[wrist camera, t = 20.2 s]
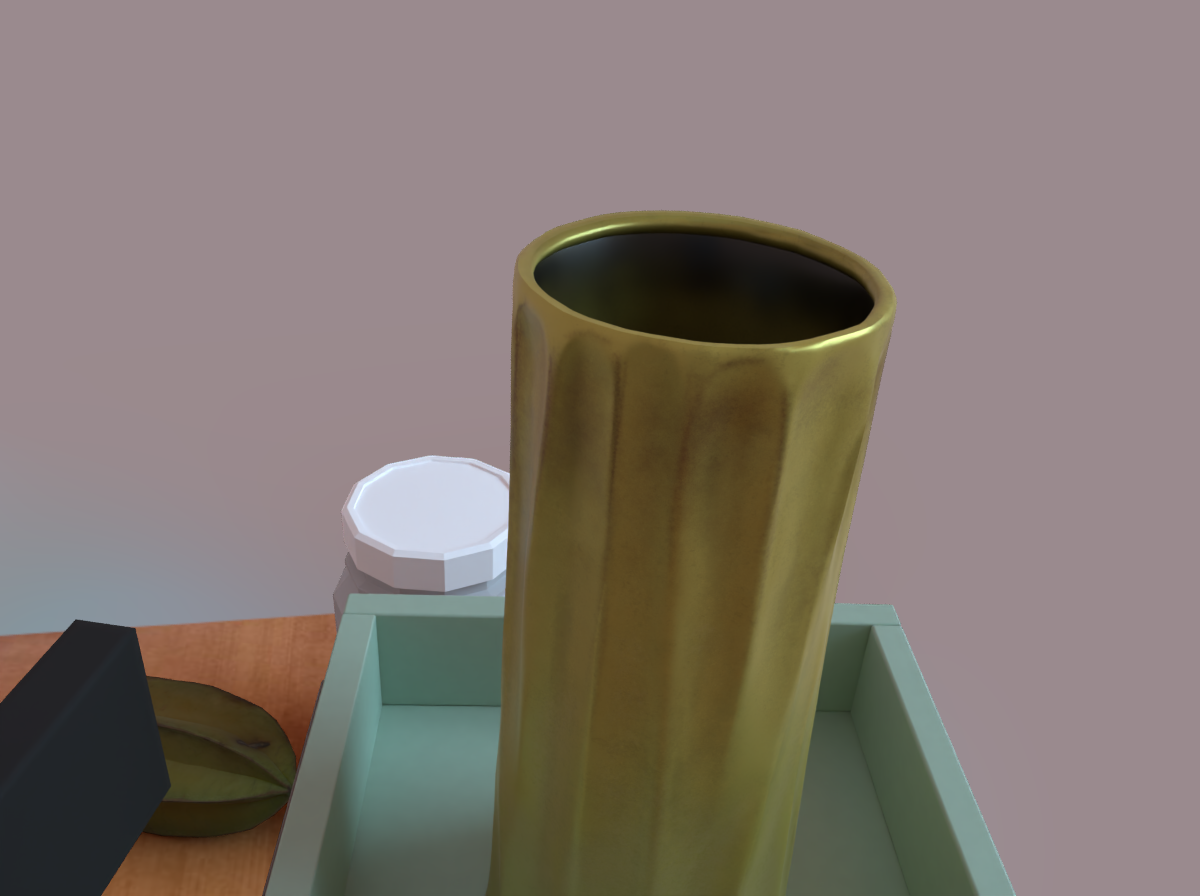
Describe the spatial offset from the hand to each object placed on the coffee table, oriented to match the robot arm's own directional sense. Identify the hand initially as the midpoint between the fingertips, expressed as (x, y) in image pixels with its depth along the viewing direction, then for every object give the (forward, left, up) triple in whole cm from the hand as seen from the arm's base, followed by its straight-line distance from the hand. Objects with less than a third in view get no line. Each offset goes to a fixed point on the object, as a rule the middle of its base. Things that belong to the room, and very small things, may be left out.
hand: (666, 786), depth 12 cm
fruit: (+28, +20, -35) cm, 49 cm away
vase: (+5, -1, -10) cm, 11 cm away
